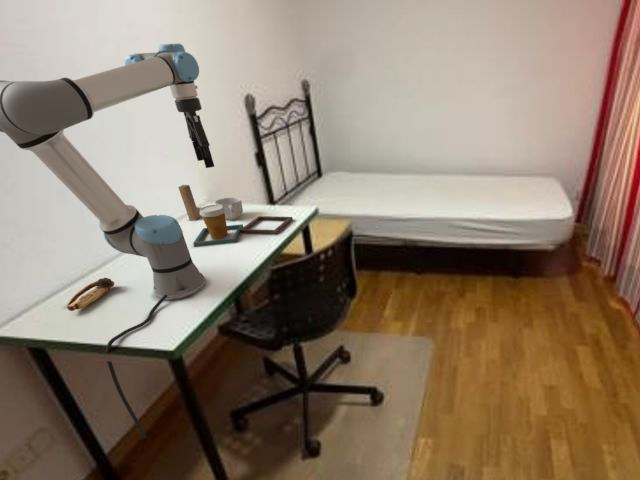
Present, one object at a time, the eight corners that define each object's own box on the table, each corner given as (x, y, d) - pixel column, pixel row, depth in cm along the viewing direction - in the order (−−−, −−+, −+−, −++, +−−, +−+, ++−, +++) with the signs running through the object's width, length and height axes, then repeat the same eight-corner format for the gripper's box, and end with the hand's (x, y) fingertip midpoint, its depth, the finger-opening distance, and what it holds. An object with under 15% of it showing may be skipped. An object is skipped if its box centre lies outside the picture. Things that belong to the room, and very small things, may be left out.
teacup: (220, 215, 205) (215, 198, 201) (245, 211, 208) (241, 194, 204) (219, 225, 194) (213, 207, 190) (245, 222, 197) (240, 204, 192)
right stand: (276, 234, 183) (275, 231, 182) (240, 233, 186) (239, 229, 185) (293, 220, 196) (292, 216, 195) (259, 219, 199) (258, 216, 198)
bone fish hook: (98, 286, 152) (54, 314, 137) (92, 274, 149) (46, 301, 134) (122, 286, 150) (80, 314, 135) (116, 274, 148) (73, 301, 133)
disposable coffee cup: (236, 232, 187) (228, 203, 181) (225, 241, 179) (217, 212, 173) (214, 232, 188) (205, 204, 182) (203, 241, 180) (193, 212, 174)
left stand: (236, 242, 178) (235, 238, 177) (194, 246, 176) (193, 243, 175) (243, 227, 191) (242, 224, 190) (204, 231, 189) (203, 228, 189)
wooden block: (195, 220, 201) (184, 187, 193) (189, 220, 202) (177, 187, 194) (204, 215, 207) (193, 182, 199) (198, 215, 207) (187, 182, 199)
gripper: (206, 99, 142) (225, 168, 153) (190, 93, 160) (208, 155, 171) (181, 102, 139) (202, 172, 150) (168, 96, 156) (188, 159, 168)
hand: (205, 163), depth 161 cm, fingers open, 13 cm apart
